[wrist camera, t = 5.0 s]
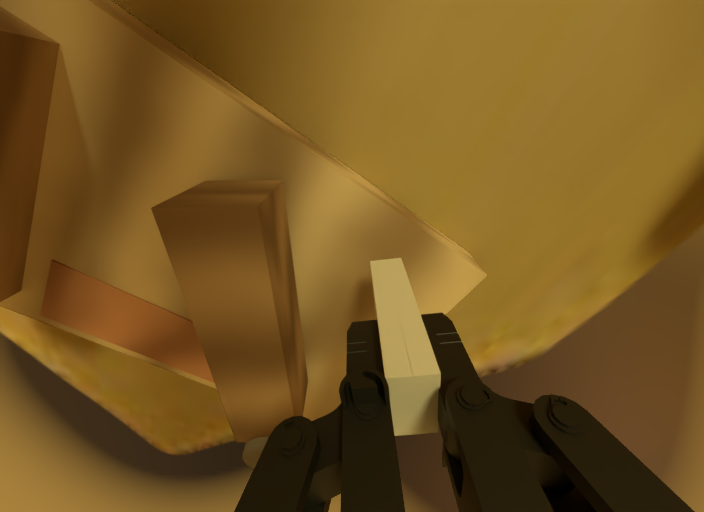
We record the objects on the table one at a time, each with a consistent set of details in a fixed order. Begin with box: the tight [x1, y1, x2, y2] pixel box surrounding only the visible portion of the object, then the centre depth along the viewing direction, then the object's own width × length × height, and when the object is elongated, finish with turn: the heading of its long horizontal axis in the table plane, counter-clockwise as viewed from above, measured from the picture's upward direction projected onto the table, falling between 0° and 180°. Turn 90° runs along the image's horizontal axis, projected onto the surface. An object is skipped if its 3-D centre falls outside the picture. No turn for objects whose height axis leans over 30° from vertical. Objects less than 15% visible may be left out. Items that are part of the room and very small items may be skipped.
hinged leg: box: [151, 180, 308, 469], centre depth 15 cm, size 16×4×4 cm, turn 1°
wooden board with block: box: [0, 0, 487, 421], centre depth 15 cm, size 26×18×7 cm
